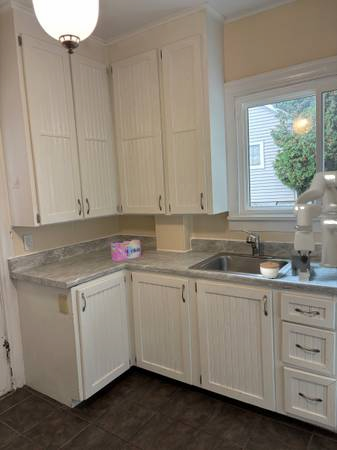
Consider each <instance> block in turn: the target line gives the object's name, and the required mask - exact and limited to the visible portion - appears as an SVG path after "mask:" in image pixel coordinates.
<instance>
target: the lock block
mask: <svg viewBox="0 0 337 450" xmlns="http://www.w3.org/2000/svg"><path fill="white" fill-rule="evenodd" d="M297 270H298V271H297V272H298V273H297V274H298V275H297V276H298V277H297V278H298V282H308V281H310V276H309V272H308V270H307V269H297Z"/></svg>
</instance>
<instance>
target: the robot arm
mask: <svg viewBox="0 0 337 450" xmlns="http://www.w3.org/2000/svg"><path fill="white" fill-rule="evenodd" d="M321 198H322V199H321ZM320 199H321V200H322V207H321V205H320V204H317V203H310V202H314V201H317V200H320ZM323 213H324V214H325V215H328V216H323V217H322V218H321V219H320V221H319V222H320V223H319V224H320V230H321V261H320V262H319V261H318V265H319V266H320V267H323V266H324V267H325V268H337V234H336V232H337V216H336V215H337V170H329V171H319V172H317V173H315V174H314V175H313V178H312V181H311V183H310V185H309V189H308V190H306V191H304V192H302V194H300V195H299V196H298V197H297V198H296V199H295V202H294V204H293V207H292V214H293V216H294V217H296V226H293V229H294V230H295V232H294V240H293V241H294V242H293V252H295V253H298V255H301V262H303V263H305V264H306V262H307V256H308V255H311V254H313V253H316V236H315V230H313V226H314V225H313V219H316V218H319V217H321V215H322V214H323ZM329 215H330V216H329ZM331 215H332V216H331ZM334 215H335V216H334ZM304 251H305V253H304ZM324 267H323V268H324Z"/></svg>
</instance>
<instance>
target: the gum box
mask: <svg viewBox="0 0 337 450" xmlns="http://www.w3.org/2000/svg"><path fill="white" fill-rule="evenodd" d="M141 248H142V247H141V240H140V239H137V238H132V239H126V240H120V241H116V242H110V251H111V252H110V253H111V261H113V262H121V261H126V260H130V259H135V258H140V257H142V252H141V250H142V249H141Z"/></svg>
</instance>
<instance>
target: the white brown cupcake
mask: <svg viewBox="0 0 337 450" xmlns="http://www.w3.org/2000/svg"><path fill="white" fill-rule="evenodd" d="M259 268H260V269H259V270H260V274H261V275H262V277H263V278H264V277H265V278H264V279H266V278H274V279H276V277H277V276H279V272H280V264H279V263H277V262H271V261H267V262H261V263H260V264H259Z"/></svg>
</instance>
